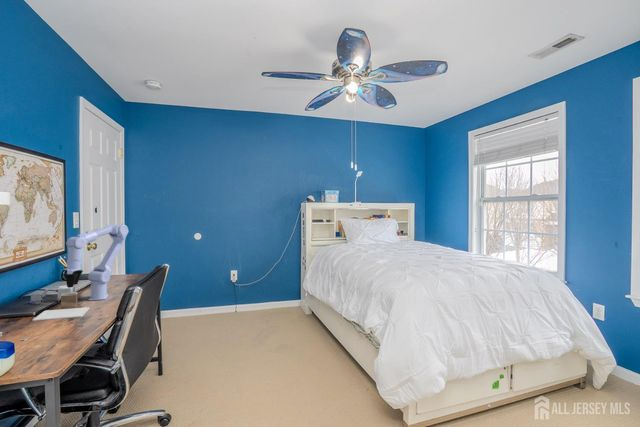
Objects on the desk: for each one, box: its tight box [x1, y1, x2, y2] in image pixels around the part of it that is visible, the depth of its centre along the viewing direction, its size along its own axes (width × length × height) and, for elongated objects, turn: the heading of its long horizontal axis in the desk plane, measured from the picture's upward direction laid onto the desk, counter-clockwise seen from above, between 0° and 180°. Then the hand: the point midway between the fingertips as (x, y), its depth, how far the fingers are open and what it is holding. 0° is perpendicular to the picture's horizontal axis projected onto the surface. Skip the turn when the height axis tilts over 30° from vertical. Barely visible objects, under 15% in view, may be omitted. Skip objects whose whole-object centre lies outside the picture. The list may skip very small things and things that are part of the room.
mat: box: [31, 306, 90, 322], centre depth 147 cm, size 14×18×1 cm
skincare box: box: [57, 285, 76, 299], centre depth 169 cm, size 6×6×7 cm
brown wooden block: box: [60, 291, 78, 309], centre depth 155 cm, size 2×6×8 cm, turn 115°
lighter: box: [30, 287, 50, 302], centre depth 161 cm, size 7×2×8 cm, turn 117°
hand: (72, 285), depth 160 cm, fingers open, 7 cm apart
